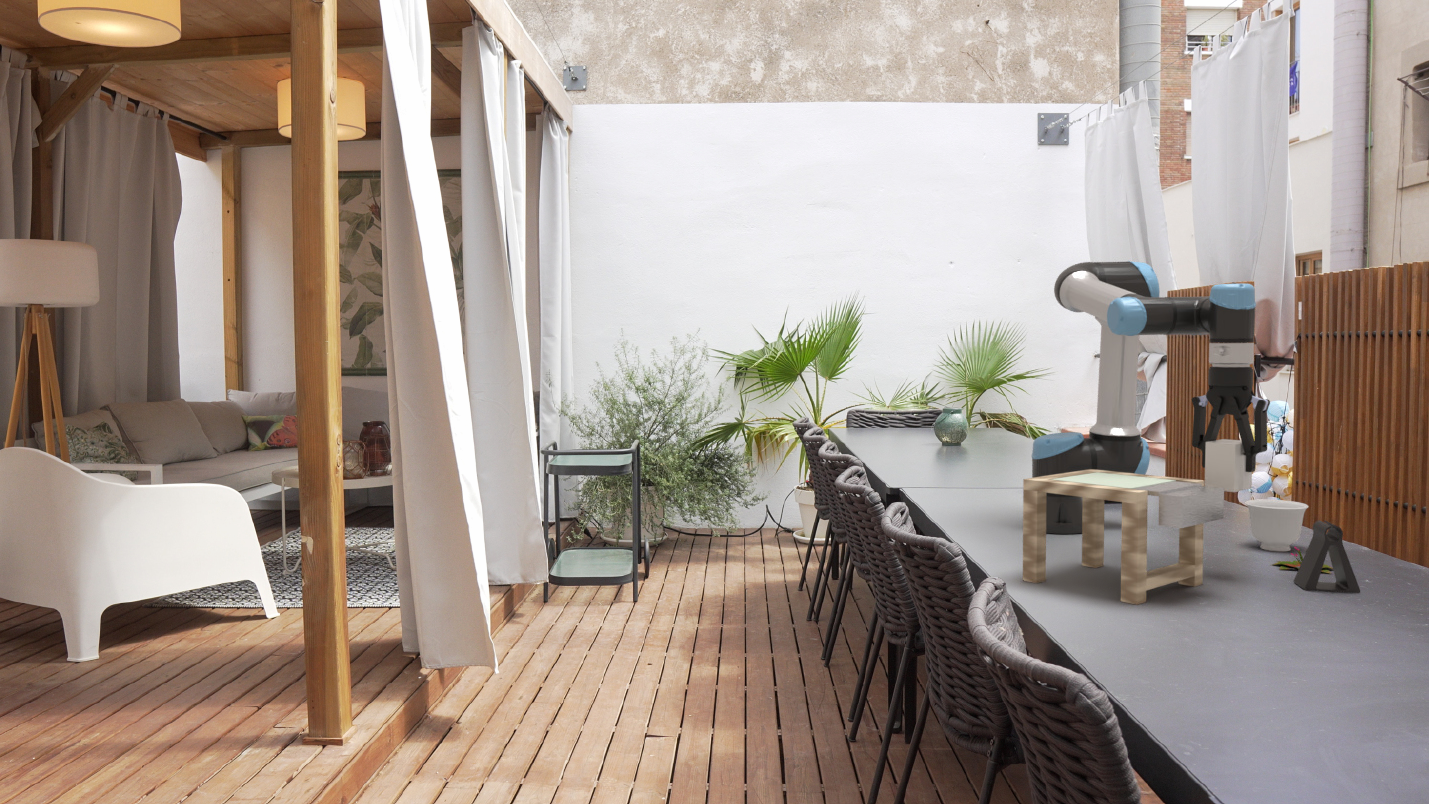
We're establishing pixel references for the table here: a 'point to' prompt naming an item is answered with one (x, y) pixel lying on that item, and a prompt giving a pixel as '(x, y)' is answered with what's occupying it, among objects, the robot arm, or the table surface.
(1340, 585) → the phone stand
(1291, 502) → the teacup
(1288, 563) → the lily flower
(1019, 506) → the table surface
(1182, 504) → the trapdoor
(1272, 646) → the table surface
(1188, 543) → the trapdoor frame
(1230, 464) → the white rectangular block
